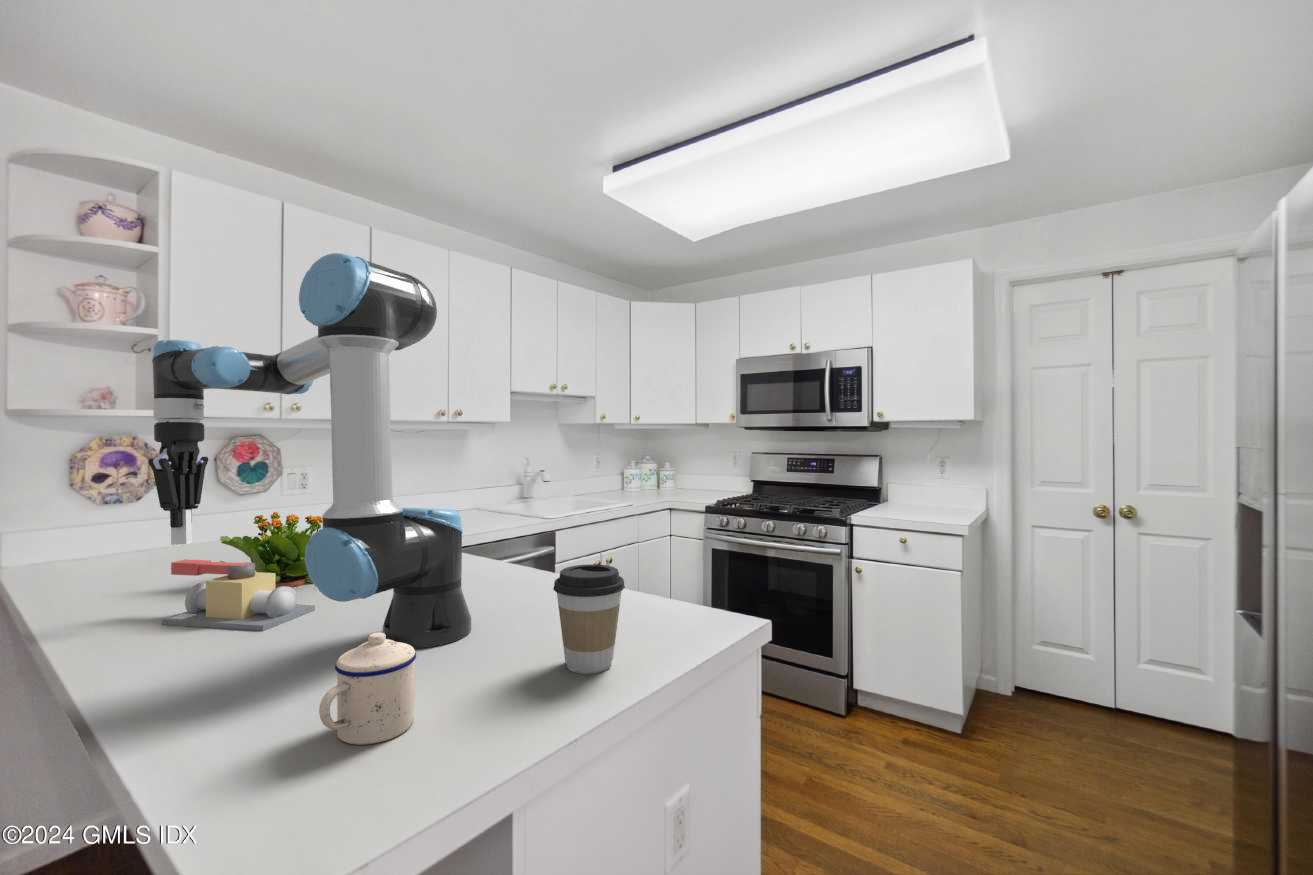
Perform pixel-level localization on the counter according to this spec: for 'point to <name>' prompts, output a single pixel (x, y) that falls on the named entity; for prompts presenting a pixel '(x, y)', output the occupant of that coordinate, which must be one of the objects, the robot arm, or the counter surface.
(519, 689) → the counter surface
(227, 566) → the lever
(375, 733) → the teacup with lid
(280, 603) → the valve base
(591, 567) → the coffee cup
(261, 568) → the potted flower
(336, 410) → the robot arm
